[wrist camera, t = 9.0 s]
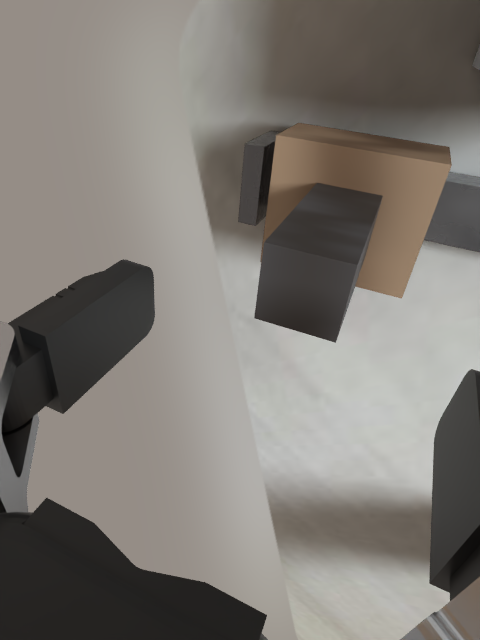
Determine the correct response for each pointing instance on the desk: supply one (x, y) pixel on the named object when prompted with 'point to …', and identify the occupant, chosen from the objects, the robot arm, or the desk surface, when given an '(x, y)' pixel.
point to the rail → (445, 226)
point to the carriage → (342, 222)
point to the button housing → (477, 60)
